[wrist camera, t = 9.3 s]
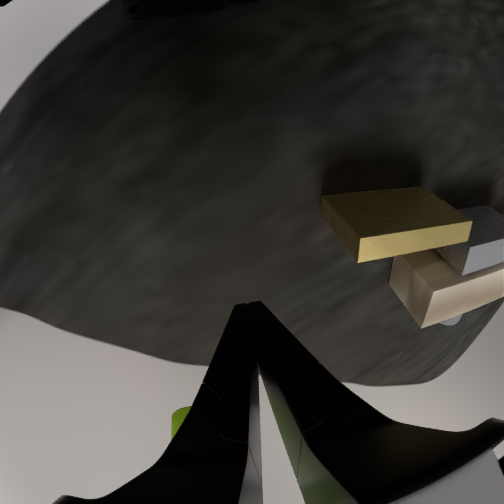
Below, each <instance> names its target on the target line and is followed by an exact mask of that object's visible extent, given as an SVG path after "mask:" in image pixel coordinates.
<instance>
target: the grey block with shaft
mask: <svg viewBox="0 0 504 504" xmlns="http://www.w3.org/2000/svg"><path fill="white" fill-rule="evenodd" d="M457 210H458V211H459V212H461V213H462V214H464V215H465V216H467V217H468V218H469V219H471V220H472V226H471V230H470V234H469V238H468V241H465V242H461V243H456V244H451V245H446V246H442V247H437V248H434V249H435V250H436V251H437V252H438V253H439V254H440V255H441V256H442V257H443V258H444V259H446V260H447V261H448V262H449V263H450V264H451V265H452V266H453V267H454V268H455V269H456V270H457V271H458V272H459V273H460V274H461V275H466V274H469V273H472V272H475V271H478V270H481V269H484V268H487V267H490V266H493V265H496V264H498V263H501V262H504V216H503V215H502V214H500V213H499V212H497V211H496V210H494V209H493V208H491V207H490V206H488V205H485V206H477V207H470V208H463V209H457ZM461 315H462V314H460V315H457V316H455V317H452V318H449V319H447V320H444V321H441V322H439V323H441V324H443V325H454V324H456V323H458V322H459V320H460V318H461Z"/></svg>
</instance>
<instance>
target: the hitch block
mask: <svg viewBox="0 0 504 504" xmlns="http://www.w3.org/2000/svg"><path fill="white" fill-rule="evenodd" d="M389 285H390V287H391V288H392V289H393V291H394V292H395V293H396V295H397V296H398V297H399V299H400V300H401V301H402V303H403V304H404V305H405V307H406V308H407V310H408V311H409V312H410V314H411V315H412V317H413V318H414V319H415V321H416V322H417V324H418V325H419V326H420V328H424V327H427V326H430V325H433V324H436V323H438V322H441V321H444V320H447V319H449V318H452V317H455V316H457V315H460V314H462V313H465V312H468V311H470V310H473V309H475V308H477V307H480V306H482V305H485V304H487V303H489V302H492V301H494V300H496V299H498V298H501V297H503V296H504V262H501V263H498V264H496V265H493V266H490V267H487V268H484V269H481V270H478V271H475V272H472V273H469V274H466V275H461V274H460V273H459V272H458V271H457V270H456V269H455V268H454V267H453V266H452V265H451V264H450V263H449V262H448V261H447V260H446V259H444V258H443V257H442V256H441V255H440V254H439V253H438V252H437V251H436V250H435V249H434V248H432V249H427V250H422V251H417V252H412V253H407V254H402V255H397V256H394V259H393V264H392V270H391V275H390V280H389Z"/></svg>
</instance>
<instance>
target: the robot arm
mask: <svg viewBox="0 0 504 504" xmlns="http://www.w3.org/2000/svg"><path fill="white" fill-rule="evenodd" d="M11 1H12V0H0V6H5V5H6V4H8V3H9V2H11ZM256 1H259V0H123V6H124V14H125V16H126V17H128V18H129V19H131V20H138V19H141V18H145V17H150V16H154V15H158V14H163V15H165V16H167V17H174V16H180V15H185V14H192V13H198V12H205V11H213V10H221V9H223V8H224V7H225V6H226V4H231V3H244V2H256ZM135 7H139V11H138V12H137V13H135V14H131V10H132V9H133V8H135ZM256 357H257V358H256ZM257 362H258V365H257ZM258 367H259V371H260V374H261V377H262V380H263V383H264V386H265V389H266V392H267V395H268V398H269V401H270V404H271V407H272V410H273V413H274V416H275V419H276V422H277V425H278V428H279V430H280V433H281V436H282V439H283V442H284V445H285V447H286V450H287V453H288V456H289V459H290V462H291V465H292V467H293V470H294V473H295V476H296V478H297V482H298V484H299V487H300V490H301V492H302V495H303V498H304V501H305V503H306V504H504V456H503V457H501V458H500V459H499V460H498V459H497V457H496V455H495V453H494V451H493V448H494V447H496V446H497V445H498V444H499V443H501V442H502V441H503V440H504V420H500V419H496V418H490V419H488V420H486V421H484V422H483V423H481V424H479V425H478V426H476V427H475V428H473V429H471V430H467V431H461V432H451V431H444V430H437V429H431V428H425V427H419V426H414V425H409V424H404V423H400V422H397V421H394V420H392V419H390V418H388V417H386V416H385V415H383V414H382V413H380V412H379V411H378V410H376V409H375V408H373V407H372V406H371V405H369V404H368V403H367V402H365V401H364V400H363V399H361V398H360V397H359V396H357V395H356V394H355V393H353V392H352V391H350V390H349V389H348V388H347V387H346V386H345V385H343V384H342V383H341V382H340V381H339V380H337V379H336V378H335V377H334V376H333V375H332V374H331V373H330V372H329V371H328V370H327V369H326V368H325V367H324V366H323V365H322V364H320V362H319V361H318V360H317V359H316V358H315V357H314V356H313V355H312V354H311V353H310V352H309V351H308V350H307V349H306V348H305V347H304V346H303V345H302V344H301V343H300V342H299V341H298V339H297V338H296V337H295V336H294V335H293V334H292V333H291V332H290V331H289V330H288V329H287V328H286V327H285V326H284V325H283V324H282V323H281V322H280V321H279V320H278V319H277V318H276V317H275V315H274V314H273V313H272V312H271V311H270V310H269V309H268V308H267V307H266V306H265V305H264V304H263V303H262V302H261V301H256V302H250V303H248V304H247V303H243V304H236V305H235V306H234V308H233V310H232V312H231V315H230V317H229V320H228V322H227V324H226V327H225V329H224V332H223V334H222V336H221V339H220V341H219V344H218V346H217V348H216V351H215V353H214V356H213V358H212V360H211V363H210V365H209V368H208V370H207V372H206V375H205V377H204V380H203V383H202V384H201V386H200V389H199V391H198V393H197V396H196V398H195V400H194V402H193V404H192V406H191V408H190V410H189V412H188V413H187V415H186V417H185V419H184V421H183V422H182V424H181V426H180V427H179V429H178V430H177V432H176V434H175V435H174V437H173V439H172V440H171V442H170V444H169V445H168V447H167V449H166V450H165V451H164V453H163V454H162V456H161V457H160V458H159V460H158V461H157V462H156V463H155V464H154V465H153V466H151V467H150V468H149V469H147V470H146V471H144V472H143V473H141V474H140V475H138V476H137V477H136V478H134V479H132V480H131V481H129V482H128V483H126V484H125V485H123V486H121V487H120V488H118V489H117V490H115V491H113V492H112V493H110V494H108V495H106V496H104V497H101V498H97V499H83V498H79V497H74V496H69V495H63V496H61V497H60V498H58V499H57V500H56V501H55V502H54V503H53V504H263V491H262V463H261V462H262V461H261V433H260V407H259V379H258Z"/></svg>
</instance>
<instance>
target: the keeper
mask: <svg viewBox="0 0 504 504" xmlns="http://www.w3.org/2000/svg"><path fill="white" fill-rule="evenodd" d="M321 215H322V217H323V218H324V219H325V220H326V222H327V223H328V224H329V225H330V227H331V228H332V229H333V231H334V232H335V233H336V234H337V236H338V237H339V238H340V240H341V241H342V242H343V244H344V245H345V246H346V247H347V249H348V250H349V251H350V253H351V254H352V255H353V257H354V258H355V260H356V261H357V262H358V263H359V262H365V261H370V260H375V259H381V258H386V257H391V256H397V255H402V254H407V253H412V252H417V251H422V250H427V249H432V248H437V247H442V246H446V245H451V244H456V243H461V242H465V241H468V238H469V234H470V230H471V226H472V220H471V219H469V218H468V217H467V216H465V215H464V214H462V213H461V212H459V211H458V210H457V209H455V208H454V207H452V206H451V205H449V204H448V203H446V202H445V201H443V200H442V199H440V198H439V197H437V196H436V195H434V194H433V193H431V192H429V191H428V190H426V189H425V188H423V187H421V186H420V187H407V188H394V189H382V190H371V191H360V192H350V193H340V194H331V195H321Z"/></svg>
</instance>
